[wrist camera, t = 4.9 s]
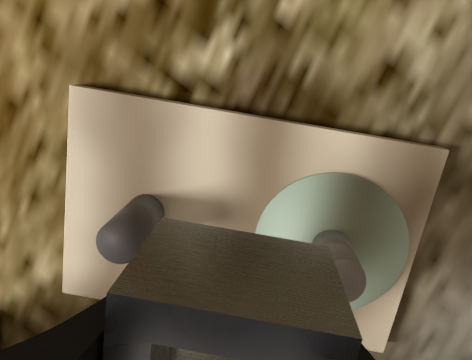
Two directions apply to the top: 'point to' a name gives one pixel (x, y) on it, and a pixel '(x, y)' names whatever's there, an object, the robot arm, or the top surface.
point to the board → (243, 191)
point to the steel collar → (228, 299)
